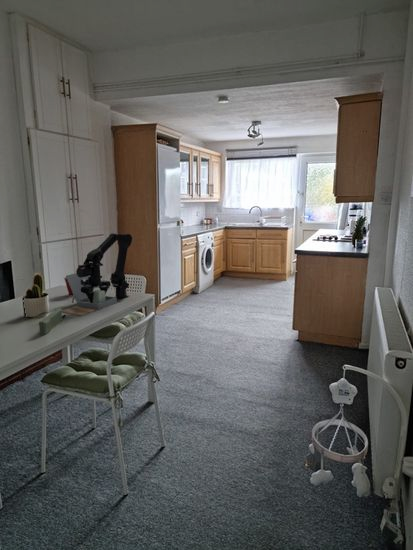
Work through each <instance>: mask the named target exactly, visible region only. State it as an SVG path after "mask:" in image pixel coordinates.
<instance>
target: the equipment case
mask: <svg viewBox="0 0 413 550" xmlns="http://www.w3.org/2000/svg"><path fill="white" fill-rule="evenodd" d="M65 277H66V278H67V281H68V283H69V286H70V288H71V290H72V293H73V296H72V298H71V304H74V301H75V302H76V306H79V307H85V308H92V309H96V311H98V310H101V309H105V308H106V307H109V306H111V305H114V304H116V303H117V302H118V298H116V296H108V295H105V302H102V303H99V304H95V303H89V299H88V297H87V295H86V294H85V293H83V292H81V287H83V286H84V285H81V280H82V279H85V280H87V279H88V277H89V276H86V277H81V278H80V277H78V276H77V273H72V274H69V275H67V274H66V275H65ZM86 286H88V285H86Z"/></svg>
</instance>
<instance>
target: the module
mask: <svg viewBox="0 0 413 550" xmlns="http://www.w3.org/2000/svg"><path fill="white" fill-rule="evenodd" d="M93 292H94V296H93V303H95V304H99V303H102V302H105V296H106V294H105V291H102V290H100V289H96V288H95V289H94V290H93ZM89 303H90V301H89Z"/></svg>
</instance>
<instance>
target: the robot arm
mask: <svg viewBox="0 0 413 550" xmlns="http://www.w3.org/2000/svg"><path fill="white" fill-rule="evenodd" d="M116 242H117V246H118V253H117V258H116V259H117V260H116V266H115V271H114V272H111V273H110V278H109V279H110V280H102V279H103V275H101V267H102V266H104V264H103V263H101V261H102V260H103V258H104V254H105V253H106V252H107V251H108V250H109V249H110V248H111V247H112V246H113V245H114V244H115V243H116ZM132 242H133V236H132V234H130V233H121V232H120V233H113V232H112V233H110V234H109V235H108V237H107V238H106V239H105V240H104V241H103V242H102V243H101V244H99V246H98V247H96V248H94V249H93V250H91V251H90V252H88V253H87V254H86V258H85V260H84V262H83V264H78V266H77V268H76V271H75V272H76V273H77V276H78V277H80V278H81V277H86V276H89V277H88V279H87V280H85V279H82V280H81V285H84V286H83V287H81V292H83V293H85V294H86V295H87V297H88V299H89V301H90V303H93V296H94V292H93V290H94V289H95V290H96V289H99V290H102V291H105V295H106V294H107V292H108V290H109V288H110V287H111V285H112V287H113V288H115V297H116V298H117V299H121V300H123V299H126V298H129V297H130V296H129V295H127V289H128V288H129V287H130V284H129V283H128V281H126V275H125V268H126V261H127V260H126V259H127V253H128V250H129V248H130V246H131V245H132ZM86 285H88V286H86Z"/></svg>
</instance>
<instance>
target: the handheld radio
mask: <svg viewBox="0 0 413 550" xmlns="http://www.w3.org/2000/svg"><path fill="white" fill-rule="evenodd" d="M62 311H63V310H62V308H61V307H59V308H57V309H55V310H54V311H53V312H51V313H49V315H46V317H44V318H42V319H41V320H40V321H39V322H38V326H39V329H38V330H39V336H45V334H46V335H47V334H49V332H51V331H52V330H53V329H55V328H56V327H57V326H58V325H60V324H61V323H62V322H63V319H64V318H66V317H67V315H66V313H62Z"/></svg>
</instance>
